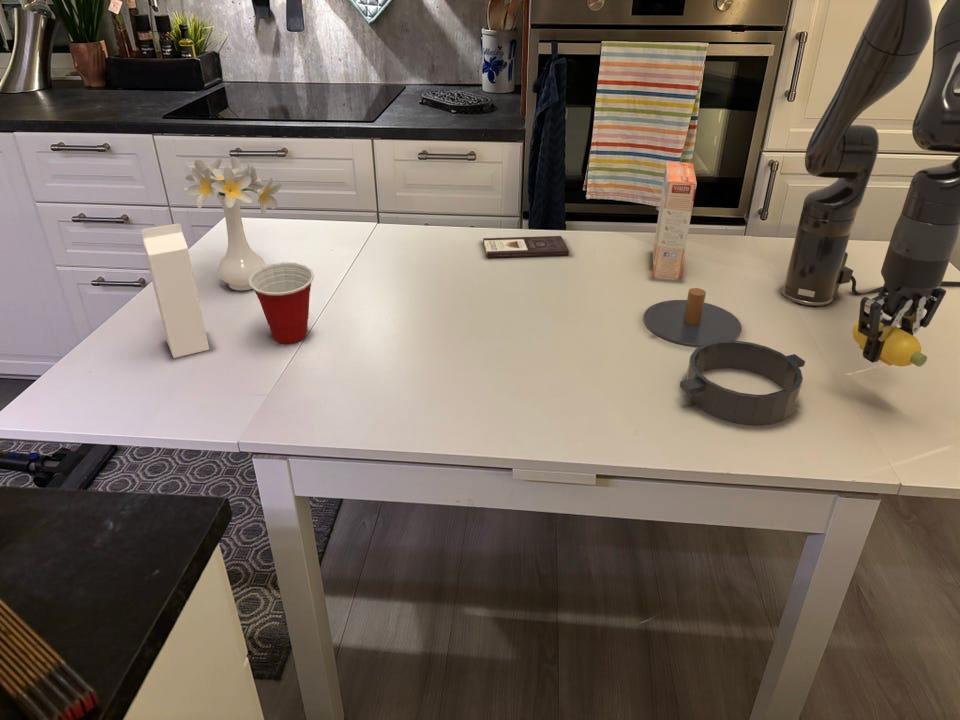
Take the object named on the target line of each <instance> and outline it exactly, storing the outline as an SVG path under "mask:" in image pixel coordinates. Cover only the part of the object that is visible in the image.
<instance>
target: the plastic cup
mask: <svg viewBox="0 0 960 720" xmlns="http://www.w3.org/2000/svg"><path fill="white" fill-rule="evenodd" d="M314 278H315V274H314V272H313V269H311V268H310V267H309V266H307V265H305V264H302V263H298V262H288V261H287V262H285V261H283V262H275V263H271V264H268V265H267V264H266V266H264V267H262V268H259V269H258V270H256V271H255V272H254V273H252V275H251V276H250V278H249V283H250V286H251V288H252V289H251V290H253V291H254V293H255V295H256V297H257V299H258V301H259V303H260V306H261V308H262V312H263V314H264V317H265V320H266V322H267V325H268V326H269V330H270V333H271V335H272V338H273V339H274V341H275V342H277V343H279V344H283V345H284V344H285V345H291V344H296V343H299V342H302V341H303V340H304V339H306V336H307V333H308V323H309V322H308V321H309V314H310V297H311V287H312V283H313V281H314Z"/></svg>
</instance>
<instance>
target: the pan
mask: <svg viewBox="0 0 960 720" xmlns="http://www.w3.org/2000/svg"><path fill="white" fill-rule="evenodd" d="M805 365H806V360H804V359H803V358H801V357H800V356H798V355H797V354H796V353H793V354H790V355H789V354H788V355H785V354H784V353H782V352H780V351H778V350H776V349H773V348H771V347H769V346H766V345H762V344H758V343H754V342H750V341H742V340H735V341H734V340H732V341H716V342H711V343H707V344H704V345H702V346H700V347H696V348H695V349H694V350H693V352H692V353H691V354H690V356H689V360H688V367H687V372H686V378H685V379H683V380H681V381H680V383H679V388H680V389H682V390H683V391H684V392H685V393H686V395H687V396H688V398H689V400H690V401H691V402H692V403H693V404H694V405H695V406H696V407H698V409H700V410H701V411H703V413H706V414H708V415H709V416H712V417H714V418H716V419H718V420H722V421H725V422H728V423H731V424H737V425H743V426H769V425H772V424H778V423H780V422H783V421H784V420H787V418H789V417H790V416H792V415H793V412H794V411H795V409H796V405H797V402H798V398H799V394H800V392H801V388H802V385H803V384H802V383H803V380H804V378H803V374H802V370H801V369H800V368H802V367H805ZM719 369H720V370H721V369H731V370H740V371H746V372H749V373H752V374H755V375H756V374H757V375H759V376H761V377H763V378H766V379H768V380H769V381H772V382H773V383H775V384H777V386H779V387H781V388H782V390H778V391H774V392H771V393H767V394H753V393H746V392H739V391H735V390H732V389H729V388H727V387H726V388H725V387H723V386H721V385H719V384H717V383H715V382H713V381H711V380H709V379H708V378H707V377H705V376H704V375H703V374H702V373H703V372H707V371H712V370H719Z"/></svg>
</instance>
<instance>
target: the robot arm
mask: <svg viewBox="0 0 960 720" xmlns="http://www.w3.org/2000/svg"><path fill="white" fill-rule="evenodd" d="M941 7H942V8H941V9H940V11H939V13H938V16H937V18H936V21H935V25H934V31H933V14H932V7H931V3H930V0H877V1H876V3H875V5H874V8H873V9H872V11H871V14H870V16H869V18H868V19H867V21H866V24H865V26H864V27H863V31H862V32H861V35H860V37H859V39H858V41H857V43H856V45H855V48H854V50H853V52H852V55H851V57H850V60H849V62H848V65H847V67H846V69H845V71H844V73H843V76H842V79H841V80H840V83H839V85H838V87H837V89H836V91H835V93H834V95H833V97H832V98H831V100H830V102H829V104H828V105H827V107H826V109H825V110H824V112H823V114H822V116H821V118H820V119H819V121H818V123H817V124H816V127H815V128H814V130H813V132H812V134H811V136H810V139H809V141H808V144H807V146H806V150H805V155H804V167H805V170H806V172H807V173H808V175H810V176H812V177H816V178H822V179H823V178H824V179H837V180H835V181H834V182H832V183H831V184H830V185H828V186H825V187H822V188H820V189H816V190H814V191H810V192H809V193H807V195H806V196H805V198H804V201H803V204H802V207H801V208H802V209H801V212H800V217H799V222H798V225H797V230H796V234H795V238H794V241H793V246H792V251H791V254H790V258H789V263H788V266H787V270H786V275H785V278H784V279H785V280H784V283H783V286H782V288H781V294H782V295H783V296H784V298H786V299H787V300H789V301H791V302H794V303H796V304H799V305H803V306H810V307H811V306H812V307H818V306H819V307H821V306H827V305H830V304H831V303H832V302H833V300H834V299H837V295H838V292H839V288H840V285H844V284H848V283H851V292H852V294H854V295H855V296H863V297H862V299H860V302H859V303H860V305H859V312H858V313H859V314H858V316H859V317H858V320H859V324H858V332H860V333H861V334H863V335H865V336H867V341H866V344H865V347H864V350H862V357H863V358H864V359H865V360H866V361H868V362H870V363H873V364H874V363H877V362H879V361H880V360H879V358H880V355H881V352H882V348H883V346H884V343H885V338H886V337H887V335H888V333H889V332H890V330H891V329H892V328H895V327H897V326H899V328H900V329H901V330H903V331H905V332H907V333H909V334H911V335H913V336H914V335H915V334H917V333H918V332H919V330H920V328H927V327H929V325H930V323H931V322H932V319H933V318H934V316H935V314H936V313H937V310H938V309H939V307H940V305H941V303H942V301H943V300H944V298H945V296H946V294H947V290H946V289H944V288H942V287H941V286H943V285H944V286H960V281H948V280H947V281H945V280H944V278H945V275H946V271H947V269H948V266H949V264H950V261H951V258H952V255H953V253H954V249H955V247H956V244H957V241H958V238H959V234H960V92H957V91H956V90H960V0H946V1H945V2H944V3H943V6H941ZM932 32H933V44H932V45H933V46H932V62H931V63H932V64H931V72H930V75H929V79H928V83H927V86H926V89H925V92H924V95H923V97H922V100H921V102H920V104H919V107H918V109H917V111H916V114H915V116H914V120H913V123H912V126H911V127H912V128H911V133H912V138H913V140H914V142H915V144H916V145H917V146H918V147H919V148H920V149H921V150H923V151H928V152H934V153H950V154H951V153H952V154H953V153H954V154H959V155H958V156H957V157H956V158H955V159H954V160H952V161H951V162H949V163H947V164H942V165H938V166H931V167H926V168H921V169H920V170H918V171H916V172H915V173H914V175H913V176H912V178H911V181H910V184H909V187H908V191H907V193H906V197H905V200H904V203H903V206H902V209H901V212H900V216H899V217H898V219H897V220H896V223H895V226H894V228H893V230H892V235H891V236H890V237H891V238H890V240H889V244H888V246H887V250H886V253H885V256H884V260H883V263H882V266H881V269H880V274H881V277H882V278H883V282H884V284H883V286H880V287H877V288H874V289H872V290H870V291H867V292H859V291H857V289H856V288H857V279H856V278H855V276H854V275H853V273H854V269H852V268H849V267H848V266H846V264H847V260H848V257H849V253H848V252H847V251H846V250H847V247H848V244H849V241H850V237H851V234H852V230H853V226H854V223H855V219H856V216H857V212H858V210H859V208H860V207H861V204H862V202H863V199H864V196H865V194H866V191H867V187H868V184H869V181H870V179H871V175H872V172H873V171H874V167H875V164H876V161H877V158H878V154H879V146H880V137H879V133H878V130H877V129H876V128H875V127H874V126H872V125H867V124H853V123H854V122H855V120H856V119H857V118H858V117H860V115H862V114H863V113H864V112H865V111H867V109H869V108H870V107H871V106H873V105H874V104H875V103H877V102H878V101H880V100H881V99H883V98H884V97H885V96H887V95H888V94H889V93H891V92H892V91H894V90H895V89H896V88H897V87H899V86H900V85H901V84H902V83H903V82H904V81H905V80H906V79H907V77H909V76H910V75H911V73H912V72H913V70H914V69H915V67H916V65H917V63H918V61H919V60H920V57H921V55H922V54H923V52H924V50H925V48H926V47H927V45H928V43H929V40H930V39H931V36H932ZM955 91H956V92H955ZM876 293H878V294H877V296H874V297H872V298H869V297H868V296H864V295H871V294H876ZM925 310H926V311H925ZM924 311H925V312H924ZM924 313H925V314H924ZM883 314H885V315H886V316H888V317H890V318H887V317H886V316H884V315H883ZM880 322H881V323H883V324H884V326H883V328H882V330H881V331H879V324H880ZM867 325H869V327H868V326H867Z"/></svg>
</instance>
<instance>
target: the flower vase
mask: <svg viewBox="0 0 960 720" xmlns="http://www.w3.org/2000/svg"><path fill="white" fill-rule="evenodd" d="M246 162H247V166H244V167H243V168H242V169H241V163H240V161H239V159H238V158H237V157H236V156H231V158H230V164H231V168H230V167H229V166H225V167H224V168H223V170H222V169H219V168H220V166H221V165H222V158H220V157H218V158H215V159H214V160H213V161H211V163H210V164H209V166H208V164H207V163H206V162H205V161H204V160H203V159H200V158H197V159H195V160H194V167H193V168H192V169H191V173H190V174H187V175H186V176H185V180H186V181H189V182H195V184H192V185H190V186H189V187H188V188H186V196H189V197H195V196H196V197H197V200H196V206H197V208H198V209H202V208H203V206H204V204H205V202H206V200H207V198H208V197H210V198H212V197H213V196H214V194H215V192H217V194H216V198H217V199H218V200H219V203H220V205H221V207H222V211H223V214H224V218H225V219H224V220H225V223H226V225H225V226H226V233H227V248H226V252H225V255H224V256H223V257H222V258H221V260H220V261H219V263H218V267H217V274H218V277H220V279H221V281H223V282H225V283H226V284H227V285H228V287H229V288H230V289H231V290H233V291H234V290H235V291H238V292H239V291H242V292H243V291H249V290H253V289H252V288H251V286H250V283H249V278H250V276H251V275H252V273H254V272H255V271H256V270H258V269H259V268H262V267H264V266H267V264H266V262H265V260H264V258H263V257H262V256H261V255H260V254H258V253H257V252H255V251H254V250H253V249H252V247H251V246H250V245H249V242H248V239H247V237H246V234H245V229H244V225H243V224H244V223H243V219H242V214H241V213H242V211H241V202H243V203H245V204H252V202H254V201H253V198H252V196H251V195H250V193H248V192H253V193H255V194H257V195H258V198H257V203H258V204H259V206H260V207H259V208H260V216H261V217H262V218H264V217H265V216H266V214H267V208H268V207H269V208H270V209H271V210H275V209H276V208H278V202H277V199H276V198H275V197H274V196H273V195H275V194H276V193H278V192H279V191H280V190H281V188H282V186H283V185H282V182H277V183H275V184H273V177H270V178H269V179H268V180H267V181H266V183H265V185H264V183H262V179H261V177H260V176H259V174H258V173H257V172H256V167H255V166H254V165H251V164H250V162H249V160H248V159H246ZM267 206H268V207H267Z"/></svg>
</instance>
